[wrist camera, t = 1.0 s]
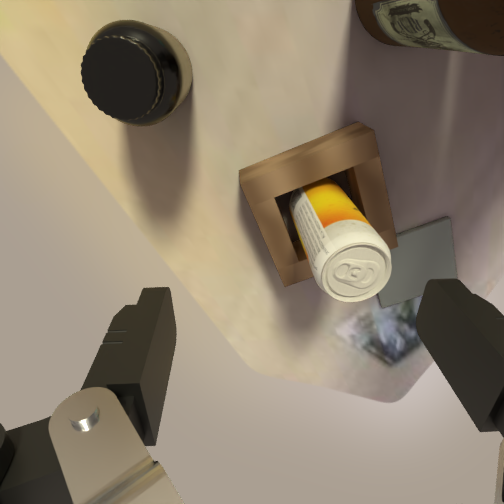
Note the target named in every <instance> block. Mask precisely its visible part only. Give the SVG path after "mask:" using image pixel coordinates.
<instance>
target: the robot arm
mask: <svg viewBox="0 0 504 504" xmlns="http://www.w3.org/2000/svg"><path fill="white" fill-rule="evenodd" d="M416 328H417V332H418V335H419V337H420V339H421V340H422V342H423V343H424V345H425V347H426V348H427V350H428V351H429V353H430V354H431V356H432V358H433V359H434V361H435V362H436V364H437V365H438V367H439V369H440V370H441V371H442V373H443V375H444V376H445V378H446V379H447V381H448V383H449V384H450V386H451V387H452V389H453V391H454V392H455V394H456V395H457V397H458V398H459V400H460V401H461V403H462V405H463V406H464V408H465V409H466V411H467V412H468V414H469V416H470V417H471V419H472V420H473V422H474V424H475V425H476V427H477V428H478V430H479V431H480V432H491V431H499V432H500V433H501V434H502V436H503V437H504V316H503V314H502V313H501V312H500V311H499V310H498V309H497V308H496V307H495V306H494V305H492V304H491V303H489V302H488V301H486V300H485V299H483V298H481V297H480V296H478V295H476V294H472V293H471V292H470V291H469V290H468V289H467V288H466V286H465V285H464V284H463V283H462V282H461V281H460V280H458V279H456V278H449V279H430V280H429V281H428V282H427V283H426V286H425V289H424V293H423V296H422V300H421V303H420V306H419V310H418V313H417V317H416ZM175 346H176V322H175V316H174V310H173V304H172V297H171V291H170V288H169V287H155V288H143V290H142V292H141V295H140V297H139V300H138V303H137V305H125V307H123V308H122V309H121V310H120V311H119V312H118V313H117V314H116V315H115V316H114V317H113V320H112V322H111V324H110V326H109V329H108V333H106V335H105V337H104V340H103V344H102V345H101V346H100V348H99V351H98V353H97V355H96V357H95V360H94V362H93V364H92V366H91V368H90V370H89V373H88V375H87V377H86V379H85V382H84V384H83V386H82V388H81V390H80V391H78V392H76V393H74V394H72V395H71V396H69V397H68V398H66V399H65V400H64V401H63V402H62V403H61V404H60V405H59V406H58V407H57V408H56V409H55V411H54V412H53V414H52V416H50V417H48V418H45V419H43V420H40V421H37V422H34V423H31V424H27V425H24V426H22V427H18V428H15V429H12V430H9V431H5V429H4V427H3V426H2V425H1V424H0V504H184V502H183V500H182V499H181V497H180V495H179V494H178V492H177V490H176V489H175V487H174V485H173V484H172V482H171V480H170V478H169V477H168V475H167V474H166V472H165V470H164V469H163V467H162V466H161V465H160V463H159V462H158V461H155V462H154V460H153V459H152V457H151V456H150V454H149V452H148V451H147V449H146V447H145V446H155V445H156V441H157V435H158V431H159V426H160V421H161V416H162V411H163V406H164V401H165V396H166V391H167V386H168V380H169V375H170V371H171V366H172V360H173V356H174V351H175ZM494 504H504V439H503V440H502V442H501V444H500V448H499V459H498V470H497V481H496V492H495V503H494Z"/></svg>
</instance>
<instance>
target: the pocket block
mask: <svg viewBox="0 0 504 504" xmlns="http://www.w3.org/2000/svg"><path fill="white" fill-rule="evenodd" d="M343 170H345V173H346V177H347V181H348V184H349V188H350V192H351V196H352V199H353V203H354V205H355V206H356V207H357V208H358V210H359V211H360V212H361V213H362V215H363V216H364V217H365V218H366V220H367V221H368V222H369V223H370V225H371V226H372V227H373V228H374V229H375V231H376V232H377V233H378V234H379V236H380V237H381V238H382V239H383V241H384V242H385V243H386V244H387V246H388V248H389V250H391V249H394V248H396V247H398V242H397V237H396V232H395V228H394V223H393V218H392V213H391V209H390V204H389V199H388V194H387V190H386V185H385V180H384V175H383V171H382V166H381V161H380V156H379V152H378V147H377V142H376V137H375V133H374V130H372V129H371V128H369V127H367V126H365V125H363V124H362V123H360V122H356V123H354V124H351V125H349V126H346V127H344V128H341V129H339V130H337V131H334V132H332V133H329V134H327V135H324V136H322V137H319V138H317V139H315V140H312V141H310V142H307V143H305V144H302V145H300V146H298V147H295V148H293V149H290V150H288V151H285V152H283V153H280V154H278V155H276V156H273V157H271V158H268V159H266V160H263V161H261V162H259V163H256V164H254V165H251V166H249V167H246V168H244V169H241V170H239V174H240V185H241V187H242V189H243V192H244V194H245V196H246V199H247V201H248V203H249V206H250V208H251V210H252V213H253V215H254V217H255V219H256V222H257V224H258V226H259V229H260V231H261V233H262V236H263V238H264V240H265V243H266V245H267V247H268V249H269V252H270V254H271V256H272V259H273V261H274V263H275V266H276V268H277V270H278V273H279V275H280V277H281V279H282V282H283V284H284V286H285V287H286V286H289V285H292V284H295V283H297V282H300V281H303V280H306V279H309V278H311V277H314V275H313V273H312V270H311V267H310V264H309V262H308V259H307V256H306V254H305V251H304V248H303V246H302V243H301V240H298V241H295V242H292V240H291V237H290V235H289V232H288V229H287V227H286V224H285V222H284V219H283V216H282V214H281V211H280V209H279V206H278V204H277V201H276V198H275V197H277V196H279V195H282V194H284V193H287V192H290V191H292V190H295V189H297V188H300V187H302V186H305V185H307V184H310V183H312V182H315V181H318V180H320V179H323V178H325V177H328V176H330V175H333V174H335V173H338V172H341V171H343Z"/></svg>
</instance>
